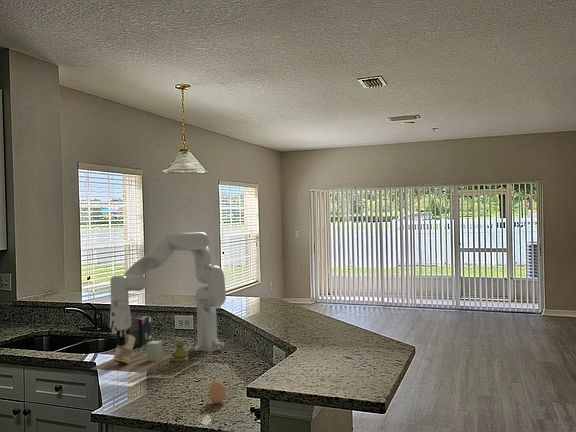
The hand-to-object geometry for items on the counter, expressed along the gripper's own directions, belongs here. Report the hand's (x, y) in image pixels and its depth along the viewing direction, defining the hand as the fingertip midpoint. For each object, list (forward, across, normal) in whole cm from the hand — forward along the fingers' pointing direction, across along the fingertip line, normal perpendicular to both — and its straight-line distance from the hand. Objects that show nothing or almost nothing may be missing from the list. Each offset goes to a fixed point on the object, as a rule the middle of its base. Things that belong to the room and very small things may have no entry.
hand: (120, 344), depth 237 cm
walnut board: (+10, +6, -3) cm, 12 cm away
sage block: (+9, +12, -10) cm, 18 cm away
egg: (+10, -32, -61) cm, 69 cm away
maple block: (+8, 0, 0) cm, 8 cm away
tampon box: (+10, +40, +16) cm, 44 cm away
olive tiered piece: (+10, +14, -22) cm, 28 cm away
